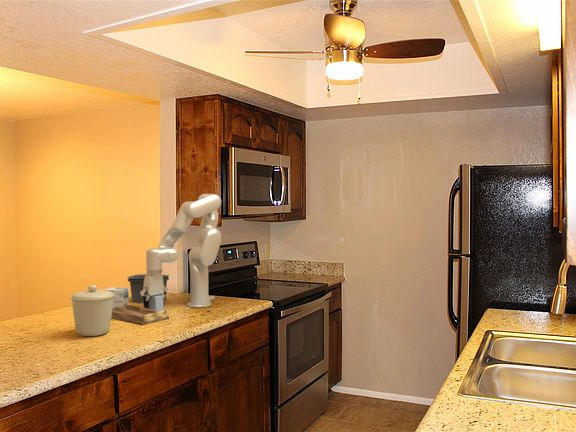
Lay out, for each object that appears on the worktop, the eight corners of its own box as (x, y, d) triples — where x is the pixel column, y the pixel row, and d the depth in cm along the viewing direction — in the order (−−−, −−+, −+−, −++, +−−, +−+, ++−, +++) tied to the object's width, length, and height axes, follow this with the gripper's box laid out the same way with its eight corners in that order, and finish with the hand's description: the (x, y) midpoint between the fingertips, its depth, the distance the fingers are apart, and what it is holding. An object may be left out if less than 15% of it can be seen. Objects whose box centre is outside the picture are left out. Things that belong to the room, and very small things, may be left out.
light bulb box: (129, 307, 287) (129, 287, 286) (124, 310, 280) (123, 289, 279) (109, 307, 288) (109, 286, 287) (104, 310, 281) (103, 289, 280)
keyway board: (129, 310, 279) (129, 302, 279) (169, 318, 262) (169, 310, 261) (102, 316, 266) (102, 307, 266) (142, 325, 249) (142, 316, 248)
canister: (81, 328, 243) (80, 281, 242) (121, 328, 243) (120, 281, 242) (63, 339, 225) (62, 288, 224) (106, 339, 225) (105, 288, 224)
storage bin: (124, 303, 298) (124, 277, 298) (138, 297, 313) (138, 273, 313) (161, 305, 294) (160, 278, 293) (173, 299, 309) (172, 274, 308)
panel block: (153, 309, 283) (152, 294, 282) (163, 311, 278) (163, 295, 278) (145, 311, 279) (145, 295, 278) (155, 313, 274) (155, 297, 274)
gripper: (162, 270, 287) (162, 302, 287) (135, 274, 273) (135, 308, 273) (172, 271, 282) (172, 304, 283) (145, 275, 268) (145, 310, 269)
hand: (154, 306), depth 278 cm, fingers open, 9 cm apart
